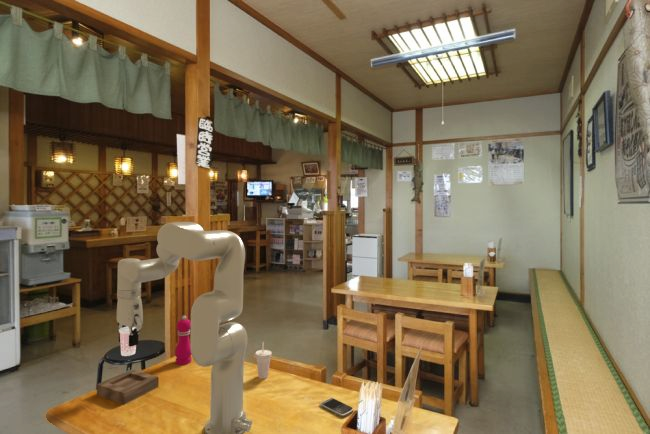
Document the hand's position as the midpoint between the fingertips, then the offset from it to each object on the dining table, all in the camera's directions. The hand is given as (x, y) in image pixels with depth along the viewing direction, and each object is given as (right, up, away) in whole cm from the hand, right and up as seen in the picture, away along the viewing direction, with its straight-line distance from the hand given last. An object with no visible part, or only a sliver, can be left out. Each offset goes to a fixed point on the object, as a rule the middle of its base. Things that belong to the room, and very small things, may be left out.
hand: (128, 342), depth 136 cm
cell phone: (+74, -20, -9) cm, 77 cm away
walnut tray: (0, -18, 0) cm, 18 cm away
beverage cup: (0, -4, 0) cm, 4 cm away
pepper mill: (+10, -17, +27) cm, 33 cm away
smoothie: (+46, -18, +14) cm, 51 cm away
